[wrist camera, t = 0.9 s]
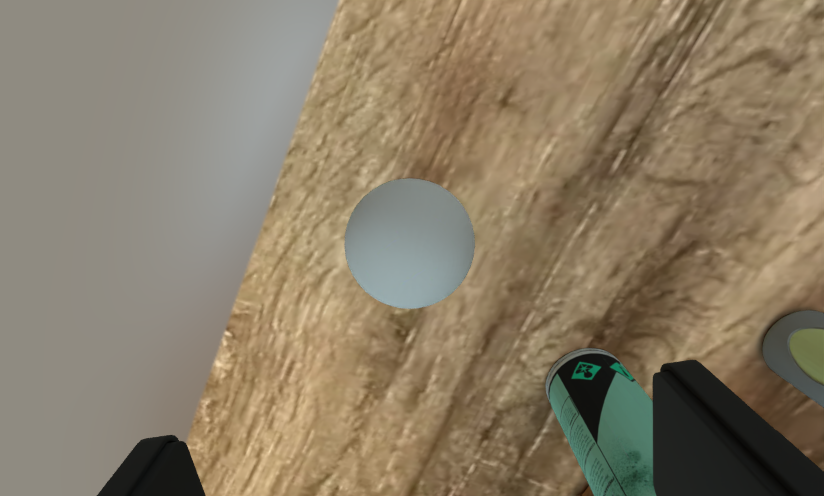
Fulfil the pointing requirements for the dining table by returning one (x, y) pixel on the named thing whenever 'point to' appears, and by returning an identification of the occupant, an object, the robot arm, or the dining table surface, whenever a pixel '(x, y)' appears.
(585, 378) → the spray can
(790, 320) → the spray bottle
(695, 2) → the dining table surface
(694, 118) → the dining table surface
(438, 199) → the light bulb
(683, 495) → the robot arm
